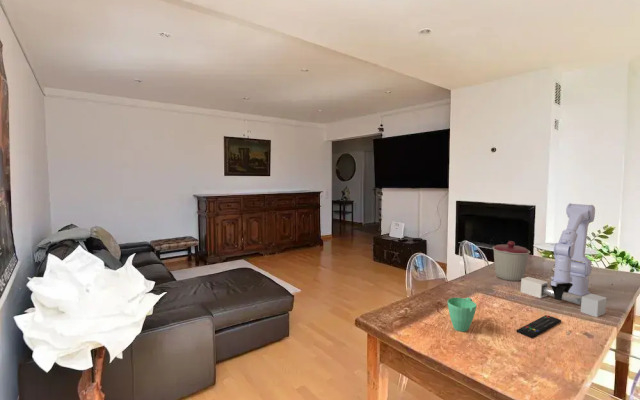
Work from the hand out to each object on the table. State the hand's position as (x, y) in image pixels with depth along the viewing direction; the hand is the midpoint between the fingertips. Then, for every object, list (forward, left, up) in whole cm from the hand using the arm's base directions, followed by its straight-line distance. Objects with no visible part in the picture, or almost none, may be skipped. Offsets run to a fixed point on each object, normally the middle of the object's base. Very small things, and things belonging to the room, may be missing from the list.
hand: (560, 298), depth 143 cm
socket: (0, +12, -2) cm, 12 cm away
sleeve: (0, -11, -2) cm, 11 cm away
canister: (-13, -31, -2) cm, 33 cm away
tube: (0, -4, 0) cm, 4 cm away
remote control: (+34, +8, -2) cm, 35 cm away
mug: (+60, -6, -2) cm, 60 cm away
